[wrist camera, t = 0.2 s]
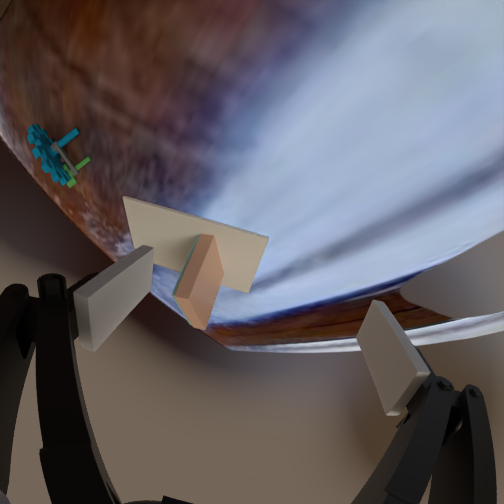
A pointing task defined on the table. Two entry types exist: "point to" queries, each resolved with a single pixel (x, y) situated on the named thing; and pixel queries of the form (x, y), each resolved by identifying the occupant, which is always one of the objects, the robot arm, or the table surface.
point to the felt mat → (184, 235)
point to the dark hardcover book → (3, 6)
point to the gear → (55, 155)
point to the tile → (199, 281)
